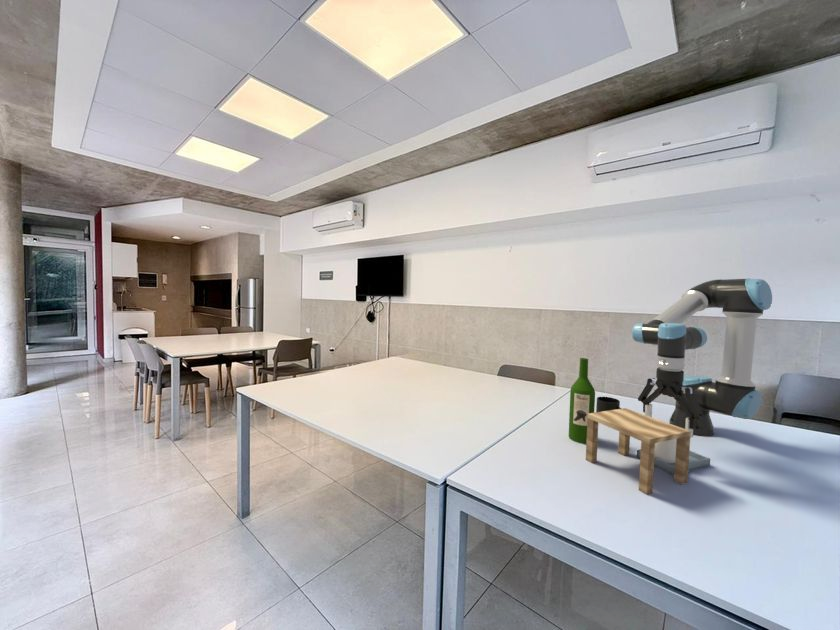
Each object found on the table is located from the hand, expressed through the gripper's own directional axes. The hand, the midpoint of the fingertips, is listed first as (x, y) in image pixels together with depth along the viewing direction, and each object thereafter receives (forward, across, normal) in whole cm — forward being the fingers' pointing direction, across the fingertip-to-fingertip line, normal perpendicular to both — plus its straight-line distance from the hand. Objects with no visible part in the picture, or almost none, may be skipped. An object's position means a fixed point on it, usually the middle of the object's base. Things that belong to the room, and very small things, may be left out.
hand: (667, 429), depth 117 cm
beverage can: (+11, 0, -1) cm, 11 cm away
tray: (+12, 0, +3) cm, 12 cm away
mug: (+13, -37, +17) cm, 43 cm away
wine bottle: (+12, -25, -13) cm, 30 cm away
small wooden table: (+11, 0, -16) cm, 19 cm away
